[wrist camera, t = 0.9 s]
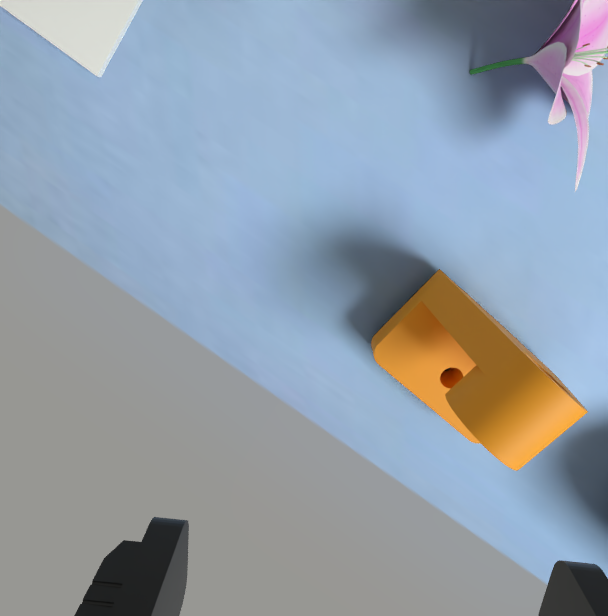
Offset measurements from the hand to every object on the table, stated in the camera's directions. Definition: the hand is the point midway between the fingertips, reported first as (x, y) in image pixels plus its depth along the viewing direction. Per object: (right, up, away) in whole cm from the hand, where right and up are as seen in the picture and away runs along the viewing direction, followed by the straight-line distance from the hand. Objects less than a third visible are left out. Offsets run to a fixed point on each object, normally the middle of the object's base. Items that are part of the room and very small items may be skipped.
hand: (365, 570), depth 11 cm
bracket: (+9, +3, +26) cm, 28 cm away
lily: (+13, +20, +20) cm, 32 cm away
